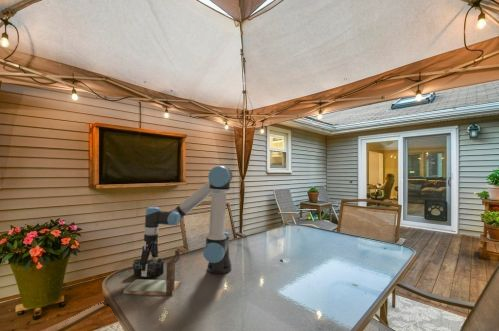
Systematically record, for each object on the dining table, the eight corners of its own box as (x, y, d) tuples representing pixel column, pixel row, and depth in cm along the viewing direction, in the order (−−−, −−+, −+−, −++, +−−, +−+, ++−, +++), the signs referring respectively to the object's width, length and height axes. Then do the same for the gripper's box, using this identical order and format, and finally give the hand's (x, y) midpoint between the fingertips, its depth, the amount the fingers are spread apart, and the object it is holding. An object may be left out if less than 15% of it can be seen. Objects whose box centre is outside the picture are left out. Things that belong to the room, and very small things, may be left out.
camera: (129, 284, 127) (128, 268, 125) (134, 273, 136) (133, 258, 134) (162, 281, 130) (162, 265, 129) (165, 271, 139) (165, 256, 137)
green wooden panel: (181, 283, 123) (182, 249, 124) (172, 295, 111) (173, 257, 112) (136, 282, 125) (137, 248, 125) (123, 293, 113) (124, 255, 113)
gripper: (154, 228, 145) (151, 263, 144) (134, 238, 122) (131, 280, 121) (165, 229, 144) (163, 264, 144) (147, 239, 122) (145, 281, 121)
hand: (148, 272), depth 132 cm, fingers open, 10 cm apart
